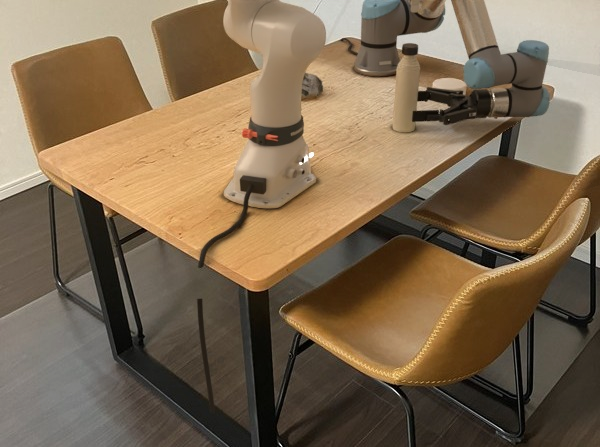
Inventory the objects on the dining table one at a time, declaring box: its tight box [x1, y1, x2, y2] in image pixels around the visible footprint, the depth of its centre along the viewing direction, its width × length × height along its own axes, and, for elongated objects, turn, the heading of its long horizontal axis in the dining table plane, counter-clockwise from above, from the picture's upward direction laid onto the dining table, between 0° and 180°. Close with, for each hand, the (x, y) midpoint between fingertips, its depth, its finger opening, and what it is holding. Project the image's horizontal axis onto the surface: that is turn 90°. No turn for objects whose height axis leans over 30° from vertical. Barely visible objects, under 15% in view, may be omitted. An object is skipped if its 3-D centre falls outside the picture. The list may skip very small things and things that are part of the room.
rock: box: [301, 72, 324, 99], centre depth 187 cm, size 15×10×7 cm
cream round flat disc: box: [431, 77, 468, 96], centre depth 185 cm, size 10×10×4 cm
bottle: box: [392, 54, 421, 133], centre depth 160 cm, size 6×6×22 cm
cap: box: [401, 42, 419, 56], centre depth 154 cm, size 4×4×2 cm
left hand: (413, 7), depth 149 cm, fingers open, 6 cm apart
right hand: (407, 106), depth 162 cm, fingers open, 13 cm apart
